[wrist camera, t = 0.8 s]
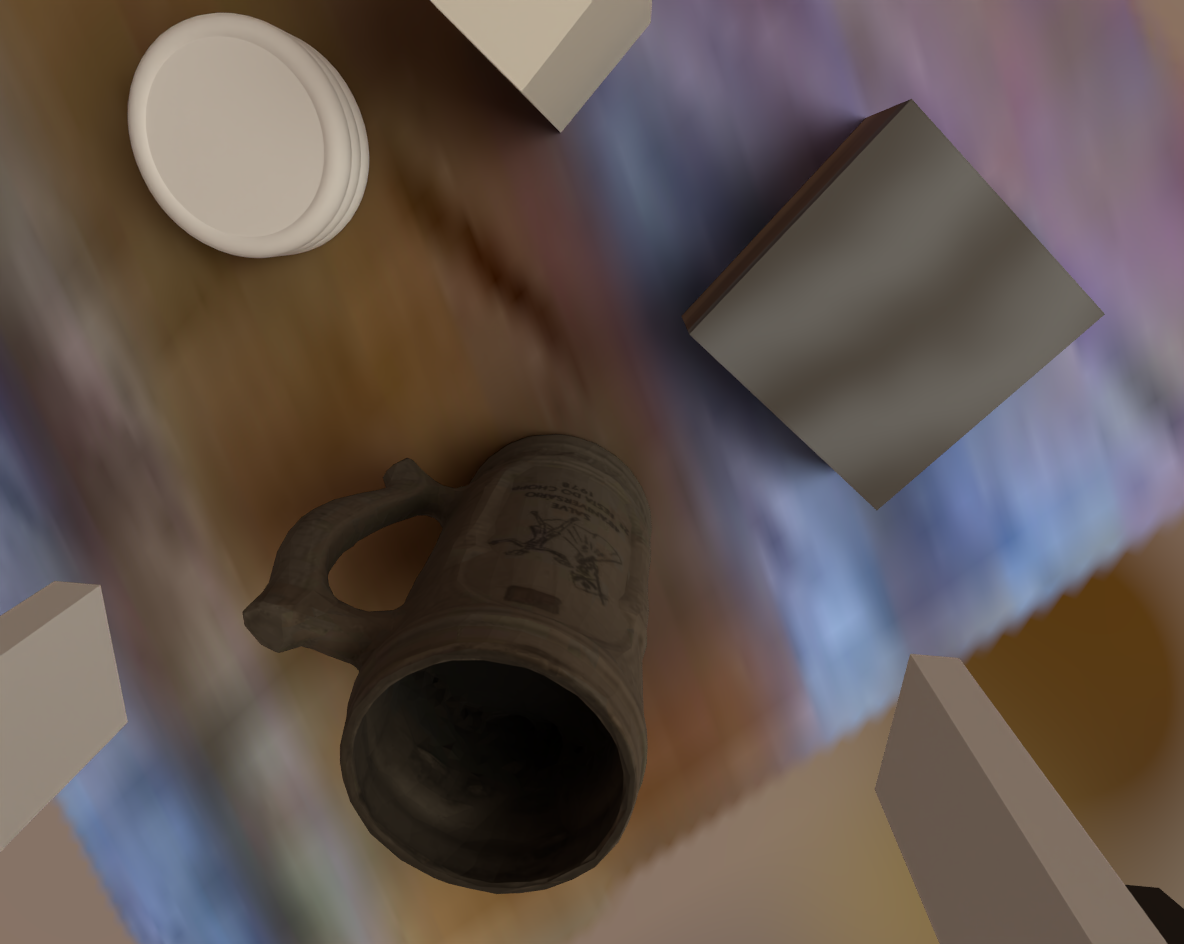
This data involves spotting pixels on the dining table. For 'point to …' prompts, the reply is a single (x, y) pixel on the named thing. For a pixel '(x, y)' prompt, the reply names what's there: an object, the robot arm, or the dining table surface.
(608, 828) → the beer stein
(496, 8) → the cream block
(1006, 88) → the dining table surface
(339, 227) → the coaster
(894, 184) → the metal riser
